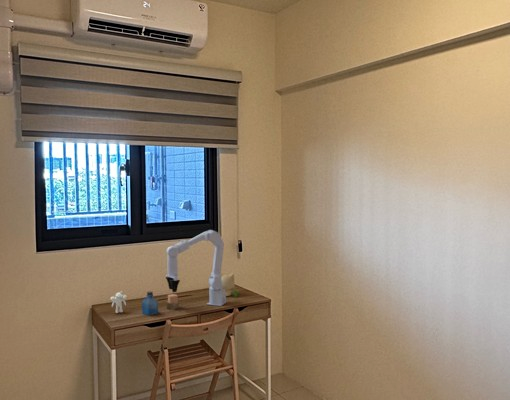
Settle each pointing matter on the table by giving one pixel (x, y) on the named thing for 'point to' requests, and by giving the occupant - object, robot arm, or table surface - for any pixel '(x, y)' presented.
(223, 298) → the robot arm
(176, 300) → the block
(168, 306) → the slab lower
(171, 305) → the slab upper
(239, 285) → the table surface
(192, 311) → the table surface
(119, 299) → the hat wearing toy figure
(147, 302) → the perfume bottle
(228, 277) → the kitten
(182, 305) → the table surface
